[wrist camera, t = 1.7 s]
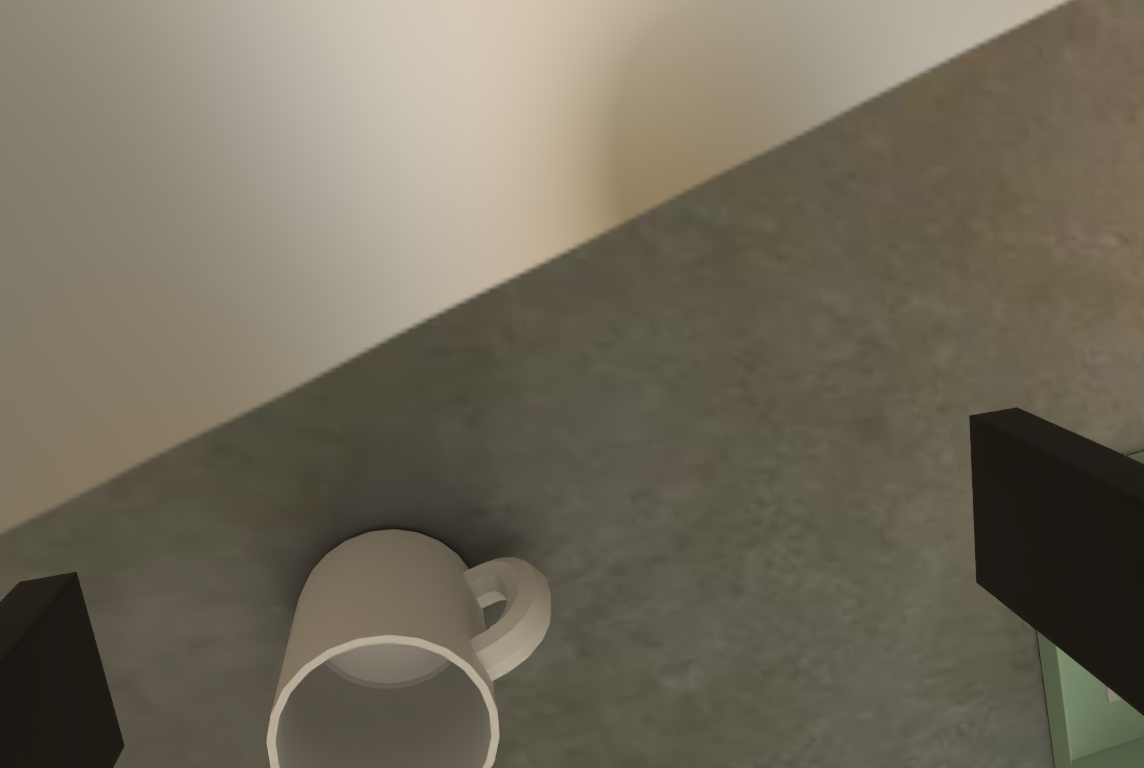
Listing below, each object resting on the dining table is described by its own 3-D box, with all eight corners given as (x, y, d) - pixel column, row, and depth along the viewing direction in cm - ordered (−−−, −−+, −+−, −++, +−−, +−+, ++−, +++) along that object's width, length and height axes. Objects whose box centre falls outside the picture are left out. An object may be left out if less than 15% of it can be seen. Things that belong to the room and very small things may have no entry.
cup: (263, 577, 39) (221, 704, 31) (493, 460, 40) (515, 553, 31) (354, 719, 42) (339, 874, 33) (572, 606, 42) (613, 731, 33)
